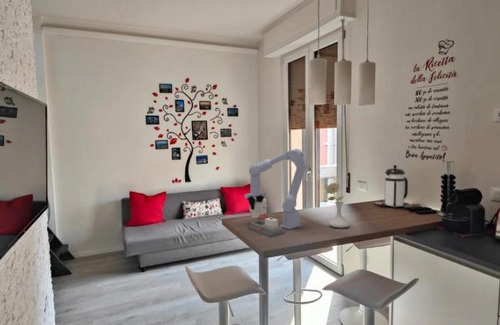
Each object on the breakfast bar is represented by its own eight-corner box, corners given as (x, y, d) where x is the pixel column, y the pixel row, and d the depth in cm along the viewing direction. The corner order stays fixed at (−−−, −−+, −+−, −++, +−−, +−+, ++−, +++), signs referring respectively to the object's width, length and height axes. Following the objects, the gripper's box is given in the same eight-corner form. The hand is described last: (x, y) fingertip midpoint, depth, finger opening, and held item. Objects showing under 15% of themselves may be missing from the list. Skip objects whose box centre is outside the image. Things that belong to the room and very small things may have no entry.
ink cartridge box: (267, 216, 206) (266, 194, 204) (264, 218, 201) (264, 195, 200) (254, 215, 209) (254, 193, 208) (251, 217, 204) (251, 194, 203)
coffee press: (407, 210, 220) (408, 166, 217) (382, 208, 226) (383, 165, 224) (407, 205, 235) (408, 164, 233) (383, 203, 242) (384, 163, 239)
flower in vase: (348, 224, 187) (348, 181, 185) (350, 229, 176) (351, 184, 174) (324, 223, 190) (325, 181, 188) (326, 228, 178) (326, 184, 176)
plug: (255, 210, 193) (254, 199, 193) (261, 212, 188) (261, 200, 188) (249, 211, 191) (249, 200, 190) (256, 213, 186) (256, 201, 185)
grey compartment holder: (261, 225, 186) (261, 211, 185) (284, 233, 171) (284, 217, 170) (247, 228, 180) (247, 213, 179) (270, 237, 165) (270, 220, 164)
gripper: (260, 183, 196) (260, 205, 197) (241, 186, 187) (241, 209, 188) (268, 185, 190) (268, 207, 191) (248, 187, 181) (248, 211, 183)
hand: (255, 208), depth 189 cm, fingers closed on plug, 4 cm apart
